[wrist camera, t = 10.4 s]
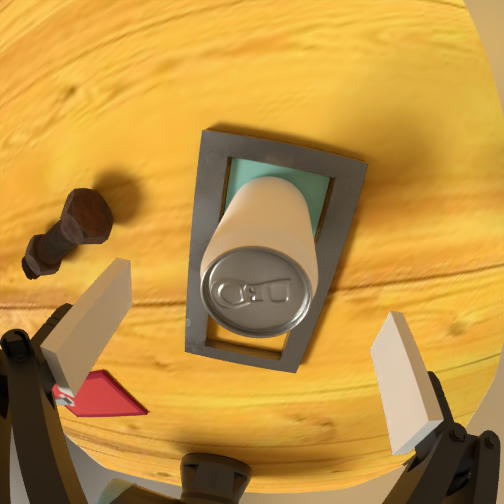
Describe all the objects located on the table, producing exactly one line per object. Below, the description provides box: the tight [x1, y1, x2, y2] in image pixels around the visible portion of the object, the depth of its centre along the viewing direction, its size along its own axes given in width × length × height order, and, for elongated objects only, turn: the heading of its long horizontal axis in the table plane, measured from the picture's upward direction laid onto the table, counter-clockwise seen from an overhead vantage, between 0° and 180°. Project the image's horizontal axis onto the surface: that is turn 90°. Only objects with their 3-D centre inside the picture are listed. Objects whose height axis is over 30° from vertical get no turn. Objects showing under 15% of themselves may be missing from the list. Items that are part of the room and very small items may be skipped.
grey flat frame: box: [185, 129, 368, 373], centre depth 28 cm, size 24×13×1 cm, turn 171°
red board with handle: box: [52, 369, 148, 417], centre depth 45 cm, size 30×3×15 cm
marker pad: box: [224, 157, 330, 239], centre depth 26 cm, size 8×8×1 cm
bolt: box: [22, 188, 113, 280], centre depth 28 cm, size 6×5×15 cm
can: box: [200, 176, 318, 338], centre depth 20 cm, size 6×6×12 cm
